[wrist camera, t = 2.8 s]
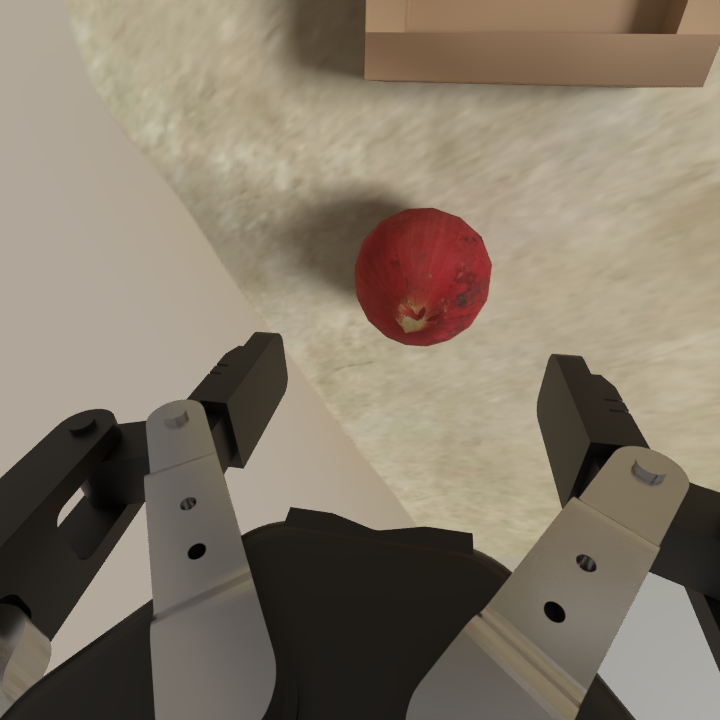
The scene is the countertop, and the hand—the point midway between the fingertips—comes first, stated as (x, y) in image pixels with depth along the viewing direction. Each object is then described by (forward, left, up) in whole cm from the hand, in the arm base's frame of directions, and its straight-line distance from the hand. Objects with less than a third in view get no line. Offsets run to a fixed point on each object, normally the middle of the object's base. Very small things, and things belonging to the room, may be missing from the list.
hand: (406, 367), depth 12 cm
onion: (0, 0, -11) cm, 11 cm away
